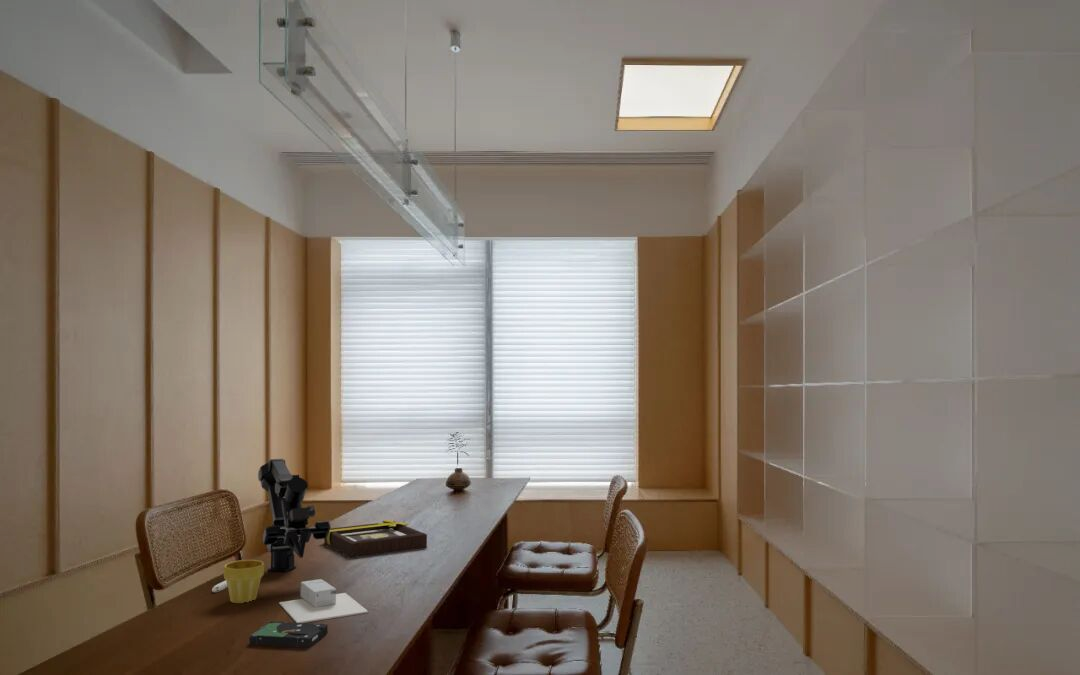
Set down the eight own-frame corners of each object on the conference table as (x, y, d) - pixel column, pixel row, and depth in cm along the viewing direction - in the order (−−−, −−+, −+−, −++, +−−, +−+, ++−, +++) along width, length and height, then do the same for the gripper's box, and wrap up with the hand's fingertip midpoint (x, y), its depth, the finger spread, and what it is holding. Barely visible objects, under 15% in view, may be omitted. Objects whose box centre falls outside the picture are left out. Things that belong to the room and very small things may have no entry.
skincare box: (300, 597, 214) (313, 609, 204) (300, 580, 214) (313, 592, 204) (322, 593, 217) (336, 605, 207) (322, 577, 218) (336, 588, 207)
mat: (279, 603, 209) (279, 602, 209) (345, 594, 218) (345, 592, 218) (297, 623, 192) (297, 622, 192) (368, 612, 201) (368, 611, 201)
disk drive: (328, 635, 185) (269, 632, 187) (328, 623, 185) (269, 620, 187) (309, 650, 175) (247, 646, 177) (310, 638, 175) (248, 634, 177)
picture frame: (323, 526, 286) (398, 518, 303) (322, 544, 286) (398, 535, 303) (350, 540, 263) (430, 530, 280) (349, 559, 263) (430, 548, 279)
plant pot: (259, 604, 209) (260, 567, 209) (219, 606, 207) (219, 569, 207) (266, 593, 219) (267, 558, 219) (228, 595, 217) (228, 560, 218)
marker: (215, 594, 219) (216, 586, 219) (209, 594, 219) (209, 586, 219) (247, 578, 237) (247, 570, 237) (240, 578, 237) (240, 570, 237)
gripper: (265, 499, 226) (273, 544, 216) (329, 494, 236) (339, 537, 226) (259, 521, 233) (266, 566, 223) (321, 516, 242) (331, 559, 232)
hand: (301, 557), depth 226 cm, fingers closed
